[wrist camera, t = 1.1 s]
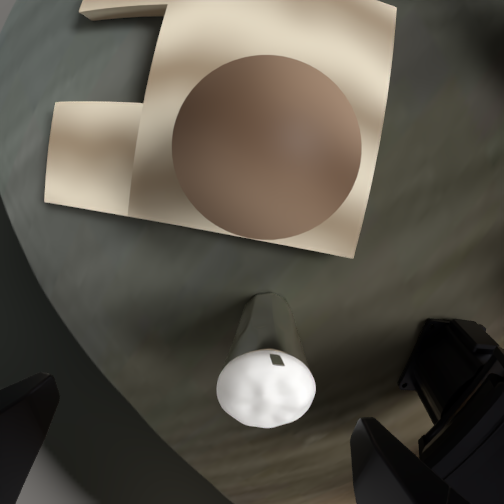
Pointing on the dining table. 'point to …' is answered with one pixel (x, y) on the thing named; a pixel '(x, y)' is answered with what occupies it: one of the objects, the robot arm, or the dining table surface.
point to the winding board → (189, 75)
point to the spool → (266, 147)
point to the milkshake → (266, 367)
